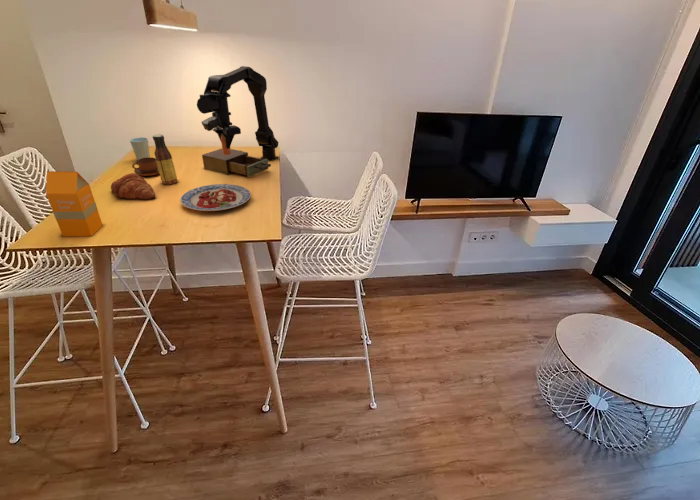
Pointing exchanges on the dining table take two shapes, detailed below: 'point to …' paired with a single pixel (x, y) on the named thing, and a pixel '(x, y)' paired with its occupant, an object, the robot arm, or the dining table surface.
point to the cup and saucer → (146, 167)
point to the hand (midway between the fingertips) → (226, 147)
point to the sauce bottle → (164, 161)
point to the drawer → (248, 165)
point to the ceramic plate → (215, 197)
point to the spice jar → (224, 148)
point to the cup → (140, 147)
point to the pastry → (132, 187)
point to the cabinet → (220, 160)
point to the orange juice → (72, 203)
